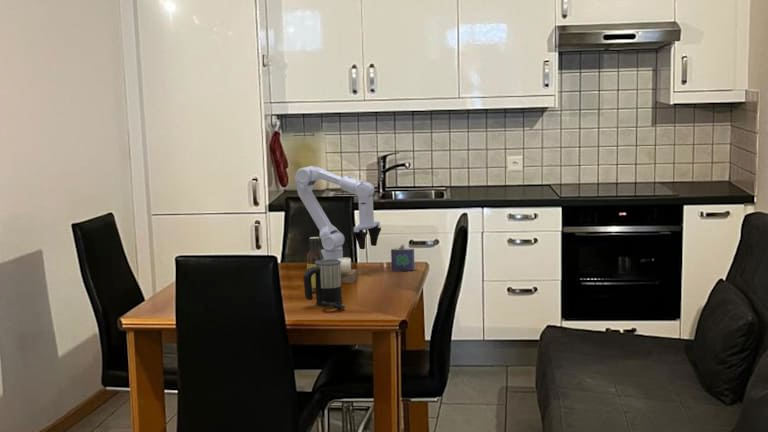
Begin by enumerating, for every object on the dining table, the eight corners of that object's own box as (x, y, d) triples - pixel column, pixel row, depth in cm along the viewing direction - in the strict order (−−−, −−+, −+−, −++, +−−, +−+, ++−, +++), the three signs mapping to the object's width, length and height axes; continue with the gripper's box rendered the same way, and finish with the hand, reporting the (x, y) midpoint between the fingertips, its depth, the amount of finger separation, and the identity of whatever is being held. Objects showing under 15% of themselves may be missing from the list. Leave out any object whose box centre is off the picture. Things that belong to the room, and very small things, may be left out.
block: (331, 284, 348) (331, 273, 347) (337, 279, 356) (336, 269, 355) (352, 284, 346) (351, 274, 346) (357, 279, 354) (356, 269, 353)
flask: (414, 269, 367) (413, 243, 365) (414, 271, 364) (413, 244, 363) (391, 270, 368) (390, 244, 366) (391, 271, 365) (390, 245, 363)
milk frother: (329, 299, 323) (327, 257, 320) (362, 305, 313) (361, 262, 310) (300, 307, 312) (298, 264, 310) (334, 314, 302) (332, 269, 300)
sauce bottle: (322, 293, 332) (320, 239, 329) (306, 292, 333) (303, 239, 330) (327, 289, 338) (325, 236, 335) (311, 288, 339) (308, 236, 336)
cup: (335, 271, 350) (335, 258, 349) (343, 269, 354) (343, 256, 353) (345, 273, 347) (345, 259, 346) (353, 271, 351) (353, 257, 350)
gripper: (363, 216, 352) (365, 251, 354) (385, 211, 364) (387, 244, 366) (348, 215, 356) (350, 249, 358) (371, 210, 368) (372, 243, 370)
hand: (368, 247), depth 362 cm, fingers open, 7 cm apart
